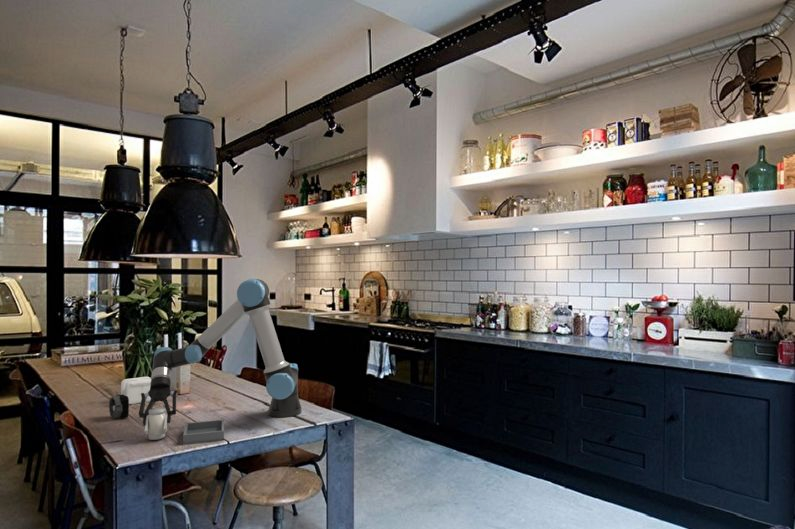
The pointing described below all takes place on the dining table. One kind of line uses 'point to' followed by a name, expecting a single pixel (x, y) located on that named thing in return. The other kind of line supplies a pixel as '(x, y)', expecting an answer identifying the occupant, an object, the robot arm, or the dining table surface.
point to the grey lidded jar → (156, 423)
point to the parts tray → (203, 432)
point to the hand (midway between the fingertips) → (155, 431)
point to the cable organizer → (136, 389)
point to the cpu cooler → (119, 406)
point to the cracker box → (180, 379)
